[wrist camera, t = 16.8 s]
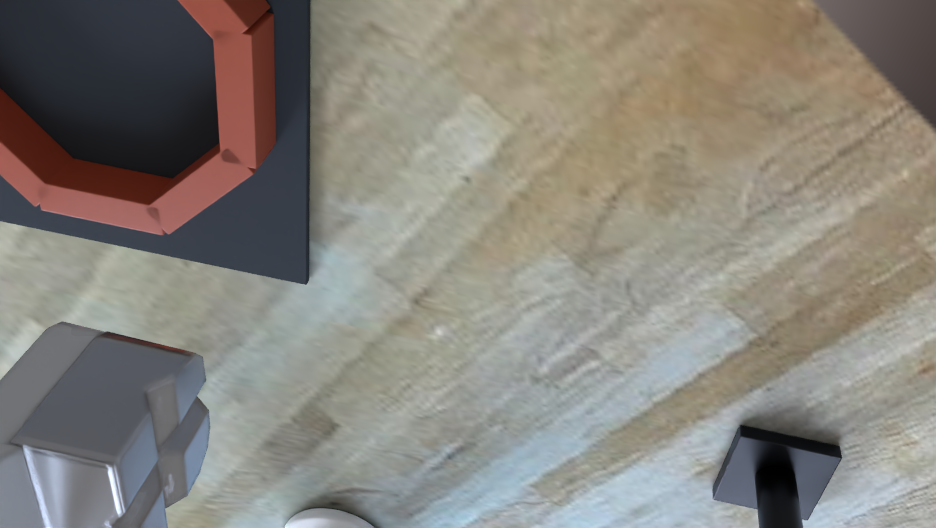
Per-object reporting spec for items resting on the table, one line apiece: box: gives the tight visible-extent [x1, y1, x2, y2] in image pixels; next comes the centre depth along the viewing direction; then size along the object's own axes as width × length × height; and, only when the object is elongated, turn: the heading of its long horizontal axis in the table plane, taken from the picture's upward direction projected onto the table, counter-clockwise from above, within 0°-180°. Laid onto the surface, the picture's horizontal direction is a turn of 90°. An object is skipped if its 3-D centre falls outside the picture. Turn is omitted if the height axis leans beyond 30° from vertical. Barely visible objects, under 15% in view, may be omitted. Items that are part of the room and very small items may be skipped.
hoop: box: [0, 0, 276, 235], centre depth 35 cm, size 21×15×4 cm
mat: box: [0, 0, 310, 285], centre depth 38 cm, size 22×18×1 cm
